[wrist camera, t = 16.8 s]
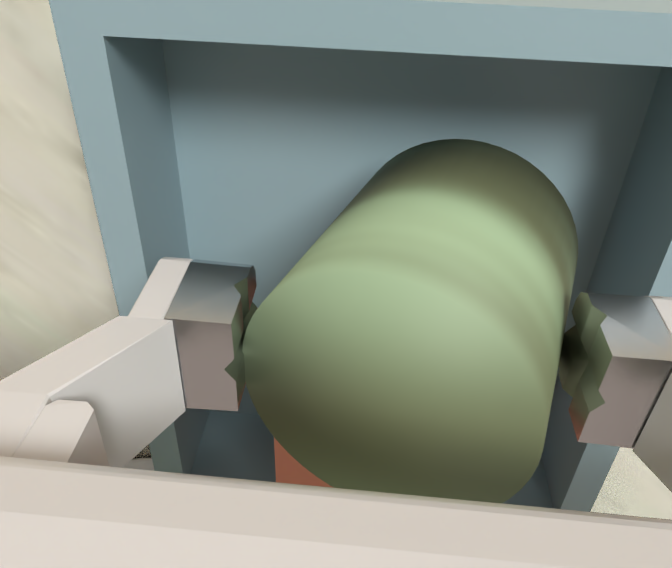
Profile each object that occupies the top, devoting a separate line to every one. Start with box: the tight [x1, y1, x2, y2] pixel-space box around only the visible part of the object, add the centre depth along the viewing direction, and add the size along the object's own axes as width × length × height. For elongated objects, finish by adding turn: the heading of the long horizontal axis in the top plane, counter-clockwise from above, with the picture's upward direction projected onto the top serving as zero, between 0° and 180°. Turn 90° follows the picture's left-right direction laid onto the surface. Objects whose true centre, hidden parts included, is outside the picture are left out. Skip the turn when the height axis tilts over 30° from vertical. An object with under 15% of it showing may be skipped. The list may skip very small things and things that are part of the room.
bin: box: [49, 0, 672, 512], centre depth 15 cm, size 12×14×4 cm
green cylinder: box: [242, 139, 578, 503], centre depth 11 cm, size 5×5×5 cm
